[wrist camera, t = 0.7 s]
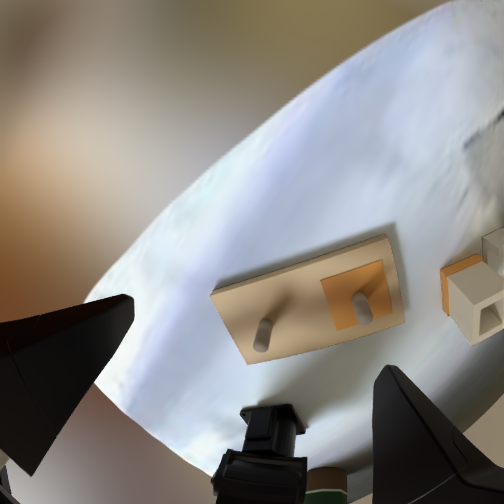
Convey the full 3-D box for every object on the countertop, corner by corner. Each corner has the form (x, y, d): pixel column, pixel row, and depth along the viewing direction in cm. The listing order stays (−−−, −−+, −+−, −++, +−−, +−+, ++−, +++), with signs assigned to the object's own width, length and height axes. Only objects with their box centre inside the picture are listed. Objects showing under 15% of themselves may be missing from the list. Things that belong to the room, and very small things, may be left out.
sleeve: (477, 293, 19) (508, 327, 14) (443, 309, 20) (469, 348, 15) (476, 253, 18) (513, 282, 13) (439, 269, 19) (472, 304, 14)
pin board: (401, 315, 21) (414, 342, 18) (249, 358, 26) (241, 387, 22) (385, 233, 19) (401, 251, 16) (213, 290, 24) (197, 315, 20)
